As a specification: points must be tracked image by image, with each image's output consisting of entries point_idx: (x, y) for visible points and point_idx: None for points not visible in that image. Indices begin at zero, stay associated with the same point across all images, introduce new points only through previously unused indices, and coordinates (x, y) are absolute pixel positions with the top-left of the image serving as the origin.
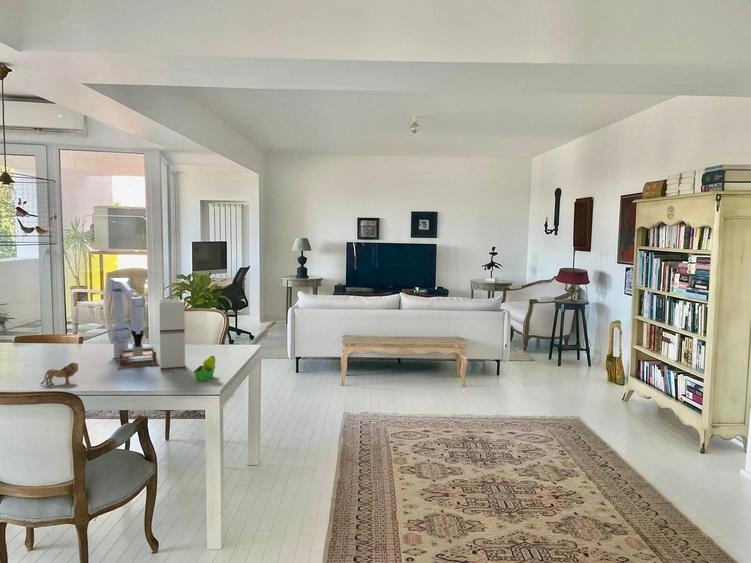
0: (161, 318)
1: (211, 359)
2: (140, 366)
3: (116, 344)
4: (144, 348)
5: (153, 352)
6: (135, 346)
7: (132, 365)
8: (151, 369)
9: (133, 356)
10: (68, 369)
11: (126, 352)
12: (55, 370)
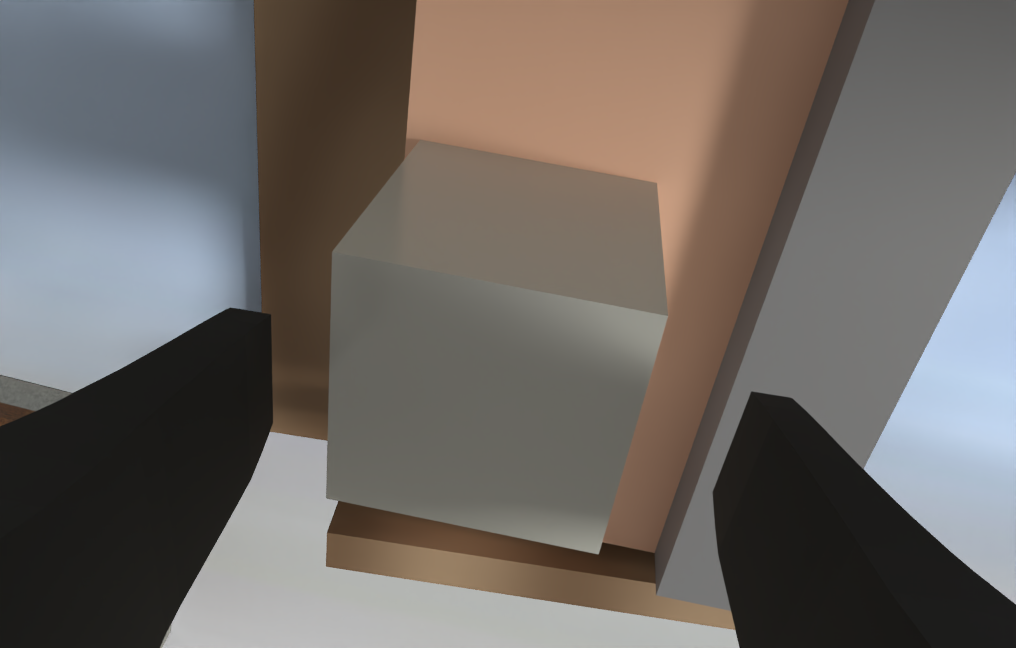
0: None
1: None
2: (263, 164)
3: None
4: (710, 485)
5: (400, 529)
6: (333, 312)
7: (343, 38)
8: (52, 273)
9: (413, 134)
10: None
11: (824, 38)
12: None
